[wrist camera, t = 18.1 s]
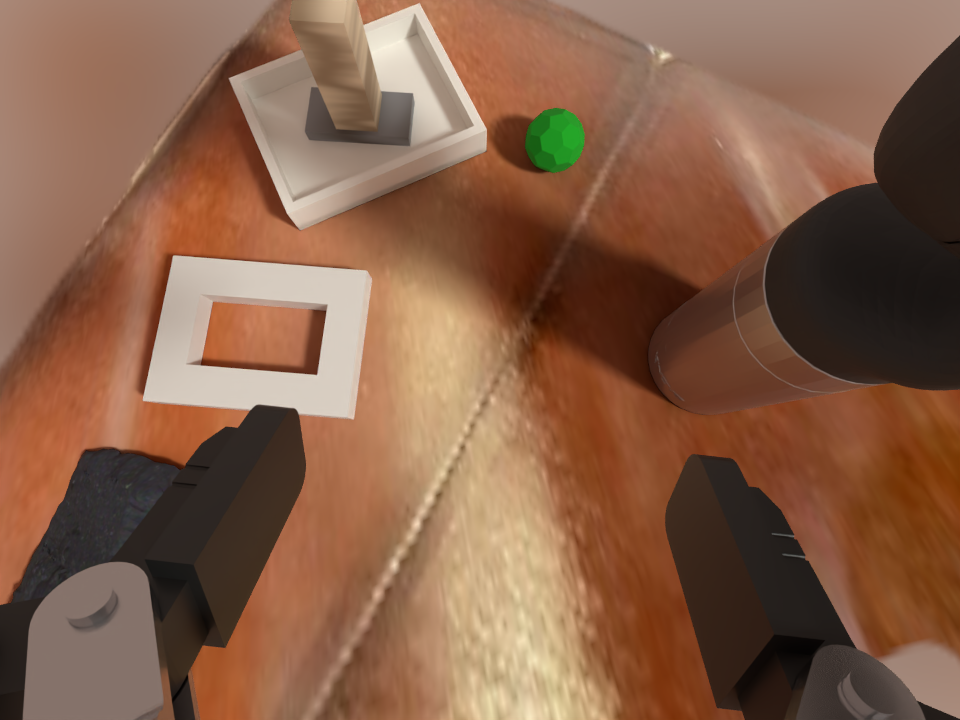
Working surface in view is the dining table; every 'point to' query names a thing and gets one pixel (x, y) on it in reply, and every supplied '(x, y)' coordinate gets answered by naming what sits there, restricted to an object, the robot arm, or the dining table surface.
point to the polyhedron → (554, 140)
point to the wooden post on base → (346, 78)
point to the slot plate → (265, 285)
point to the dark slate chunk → (94, 517)
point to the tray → (358, 166)
